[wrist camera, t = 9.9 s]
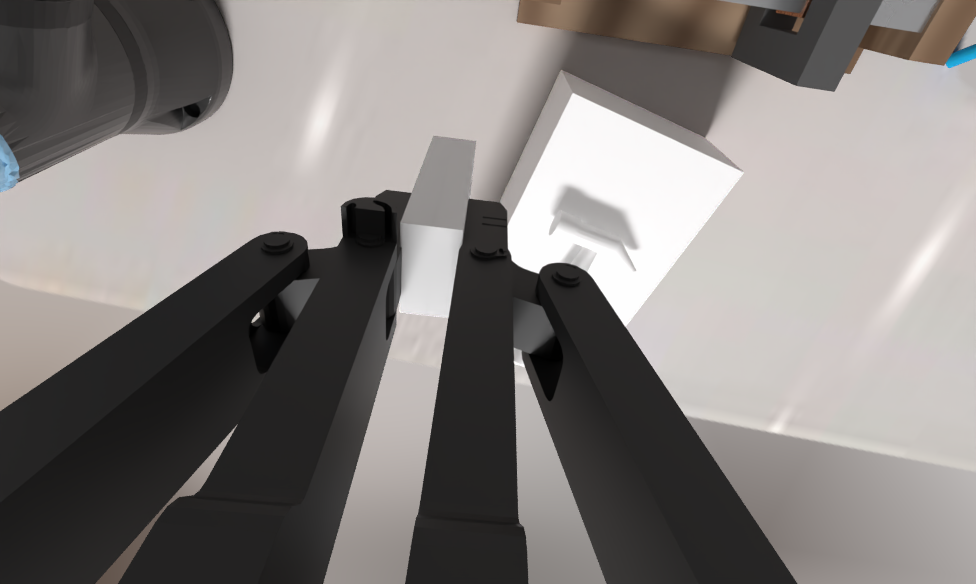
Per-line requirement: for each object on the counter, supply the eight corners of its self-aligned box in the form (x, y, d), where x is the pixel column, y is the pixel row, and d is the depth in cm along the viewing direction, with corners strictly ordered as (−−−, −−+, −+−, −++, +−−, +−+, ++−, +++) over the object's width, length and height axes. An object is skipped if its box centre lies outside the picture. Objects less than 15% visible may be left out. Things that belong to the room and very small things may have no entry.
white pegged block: (704, 136, 42) (757, 184, 33) (570, 331, 56) (583, 402, 47) (560, 68, 39) (576, 101, 30) (457, 291, 53) (447, 359, 44)
